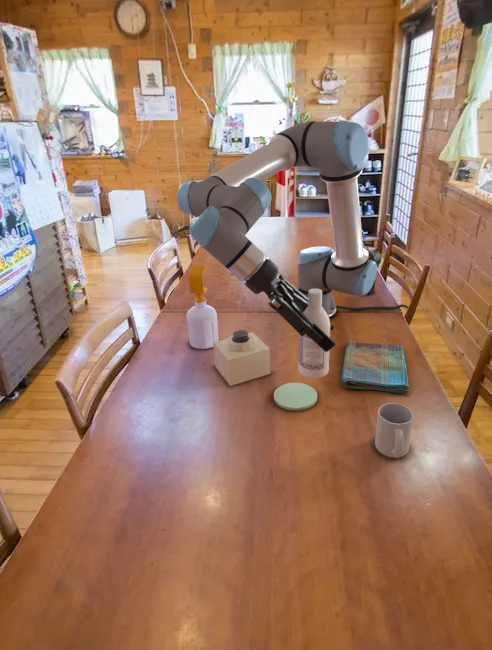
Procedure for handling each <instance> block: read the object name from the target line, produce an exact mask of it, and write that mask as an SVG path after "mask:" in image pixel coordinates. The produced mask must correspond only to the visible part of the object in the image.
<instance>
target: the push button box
mask: <svg viewBox="0 0 492 650" xmlns="http://www.w3.org/2000/svg"><path fill="white" fill-rule="evenodd" d="M213 357H214V368H216V370H217V371H218V372H219V374H220V375H221V376H222V377H223V379H224V380H225V381H226V382H227V383H228V385H229V386H230V387H232V386H235V385H238V384H241V383H246V382H248V381H252V380H254V379H258V378H260V377H261V378H262V377H265V376H268V375H270V374H271V348H270V347H269V346H268V345H267V344H266V343H264V342H263V340H261V339H260V338H259V336H257V335H256V334H255V333H254V332H253V331H252V332H248V341H247V342H244V343H236V342H234V341H233V334H231V335H230V336H228V338H224V339H219V341H216V342H213Z"/></svg>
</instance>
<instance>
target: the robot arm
mask: <svg viewBox="0 0 492 650" xmlns="http://www.w3.org/2000/svg"><path fill="white" fill-rule="evenodd" d="M369 154H370V141H369V136H368V133H367V131H366V130H365V127H363V126H362V125H361V124H360V123H358V122H353V121H347V120H341V121H315V120H314V121H313V120H309V121H302V122H300V123H297V124H294V125H292V126H289V127H287V128H285V129H284V130H281V131H279V132H277V133H275V134H274V135H272V136H271V137H269V138H268V140H267V142H266V144H265V145H263V146H260V147H259V148H257V149H256V150H254V151H252V152H250V153H248V154H246V155H245V156H243V157H241V158H240V159H238V160H236V161H235V162H233V163H231V164H229V165H228V166H226V167H224V168H222V169H221V170H219V171H217V172H215V173H213V174H212V175H209V176H208V177H207V178H205V179H203V180H201V181H197V180H192V181H185V182H183V183H181V185H180V186H179V187H178V190H177V192H176V202H177V205H178V208H179V209H180V211H182V212H183V213H184V214H187V215H190V216H193V217H197V219H196V220H195V221H194V222H193V223H192V225H190V226H189V228H188V233H189V235H190V236H191V238H193V240H195V242H196V243H197V244H198V245H200V247H201V249H203V250H205V251H206V252H208V253H209V254H210V255H211V256H212V257H213V258H214V259H216V261H218V262H219V263H220V264H221V265H222V266H224V268H226V269H227V271H229V275H231V276H235V278H237V279H238V280H239V281H240V282H242V281H243V283H244V286H245V287H246V288H247V289H248V290H250V291H251V292H252V293H253V294H254V295H259V294H261V293H264V294H265V295H266V296H267V298H268V299H269V301H270V302H268V305H269V307H270V308H271V309H272V310H274V311H276V312H277V313H278V315H280V317H282V318H283V320H285V321H286V322H287V323H288V324H289V325H290V326H291V327H292V328H293V329H294V330H295V331H296V333H298V335H299V334H300V335H301V336H304V335H305V334H307V335H308V336H309V337H310V338H311V339H312V340H313V341H314V342H315V343H317V344H318V345H319V346H320V347H321V348H322V349H323V350H324V351H325V352H327V351H329V350H330V351H331V349H333V348H334V347H335V346H337V345H336V344H337V343H336V342H335V341H334V340H333V339H332V338H331V337H330V338H329V337H328V336H327V335H326V334H325V333H324V332H323V331H322V330H321V329H320V328H319V327H318V326H316V325H315V324H312V323H311V322H310V321H309V320H308V319H307V317H306V316H305V315H304V314H303V312H304V311H305V310H306V308H307V307H308V291H309V290H310V289H320V290H322V307H323V309H324V310H325V312H326V313H327V315H328V317H329V319H331V318H333V317H335V316H336V314H337V309H340V310H349V311H362V310H363V311H364V310H396V309H400V308H405V309H407V310H408V309H410V307H409V306H408V305H407V304H398V305H395V306H361V307H360V306H359V307H351V306H345V305H344V306H343V305H337V304H336V302H335V297H334V294H333V291H336V292H339V293H343V294H347V295H351V296H359V297H364V296H366V295H368V294H367V293H368V292H369V291H370V289H371V287H372V285H373V283H374V281H375V280H376V279H377V274H378V265H377V264H376V263H375V262H374V261H369V254H368V251H367V250H366V248H365V247H364V243H363V241H364V240H363V232H362V231H363V230H362V220H361V206H360V196H359V195H360V194H359V185H358V178H359V177H360V175H361V174H362V172H363V169H364V168H365V167H366V165H367V164H368V162H369ZM295 167H296V168H297V167H310V168H317V169H318V174H319V178H320V180H321V181H323V182H324V183H325V184H326V186H325V187H326V193H327V199H328V208H329V215H330V216H329V217H330V222H331V229H332V231H331V232H332V238H333V246H334V247H331V246H326V245H322V246H321V245H319V246H311V247H307V248H305V249H302V250H301V251H300V252H299V253H298V260H297V266H298V267H297V276H298V277H297V286H298V287H295V285H293V284H292V283H291V282H290V281H288V280H287V278H286V277H285V276H284V275H283V274H282V273H280V268H279V266H278V265H277V264H276V263H274V262H273V261H272V260H271V258H269V257H266V254H265V253H264V252H263V251H262V250H261V249H260V247H259V246H258V247H257V245H255V244H254V243H253V242H252V241H251V240H250V239H249V238H248V237H247V236H246V235H247V234H248V232H249V231H250V230H251V229H252V227H254V225H255V224H256V223H257V222H258V220H259V219H260V218H261V217H262V216H263V215H264V214H265V212H266V210H267V209H268V208H269V206H270V204H271V203H272V198H273V197H272V193H271V190H270V188H269V186H267V184H266V183H265V181H266V180H268V179H269V178H272V176H274V175H276V174H277V173H279V172H281V171H282V172H286V171H289V170H291V169H293V168H295ZM362 240H363V241H362ZM364 248H365V249H364ZM279 273H280V274H279ZM334 329H335V327H334V325H333V324H332V323H330V332H332V330H334Z"/></svg>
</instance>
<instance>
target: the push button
mask: <svg viewBox="0 0 492 650" xmlns="http://www.w3.org/2000/svg"><path fill="white" fill-rule="evenodd" d="M248 333H249V332H248V331H247V330H244V329H239V330H235V331H233V333H232V335H233V341H234V342H236V343H244V342H247V341H248Z"/></svg>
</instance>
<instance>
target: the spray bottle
mask: <svg viewBox="0 0 492 650" xmlns="http://www.w3.org/2000/svg"><path fill="white" fill-rule="evenodd" d="M205 271H206V267H205V266H203V265H200V266H199V265H193V266H191V267H190V270H189V272H188V287H189V293H190V294H194V295H195V296H196V297H195V298H194V305H193V306H192V307H191V308H190V309H188V310H187V313H186V322H187V323H186V324H187V330H188V331H187V332H188V339H189V341H188V342H189V345H190V346H191V347H192V348H194V349H197V350H206V349H211V348H214V346H213V342H216V341H220V339H219V338H220V337H219V324H218V314H217V311H216V309H215V308H214V307H212V306H211V305H209V304H207V298H206V297H205V296H204V295H205V294H206V292H207V291H208V287H207V286H204V274H205Z"/></svg>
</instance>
